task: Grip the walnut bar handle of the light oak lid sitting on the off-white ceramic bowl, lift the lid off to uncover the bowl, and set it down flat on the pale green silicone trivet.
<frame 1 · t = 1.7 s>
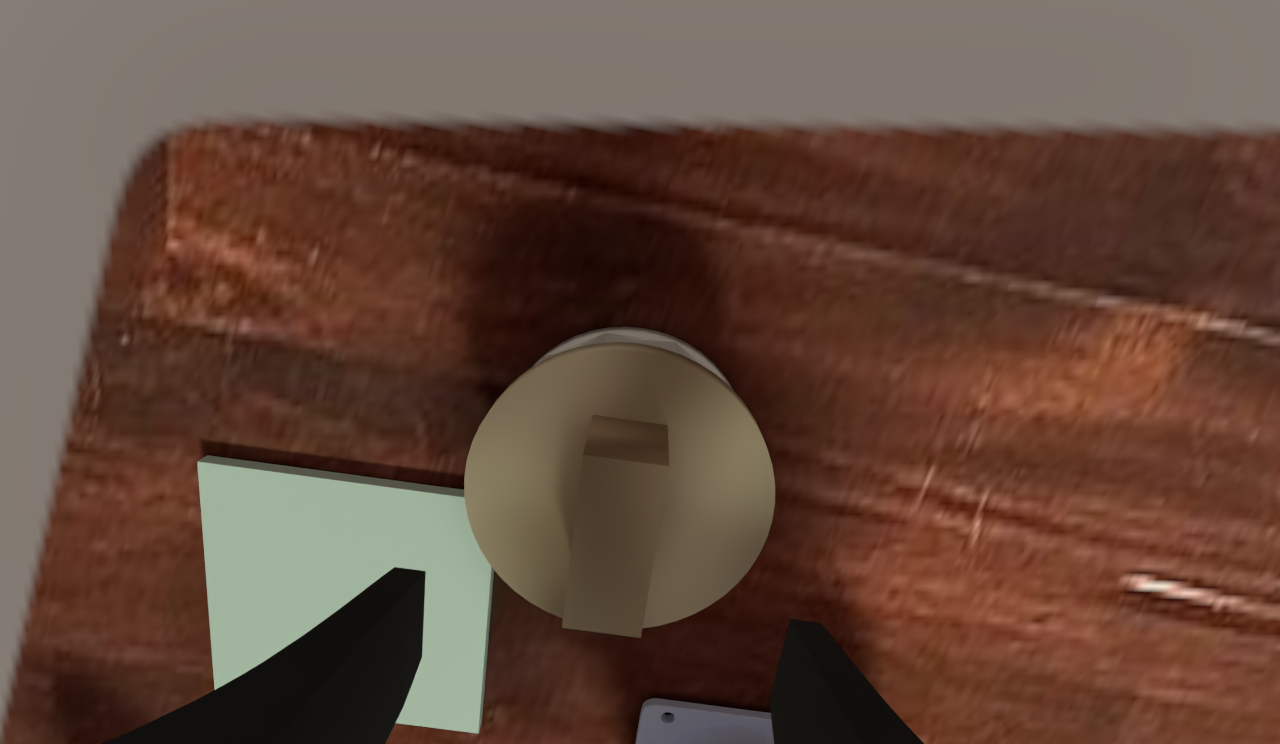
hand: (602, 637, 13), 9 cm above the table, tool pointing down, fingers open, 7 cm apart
lid: (620, 486, 19), point 3 cm above the table, touching bowl
bowl: (625, 443, 22), on the table
trivet: (353, 598, 24), on the table
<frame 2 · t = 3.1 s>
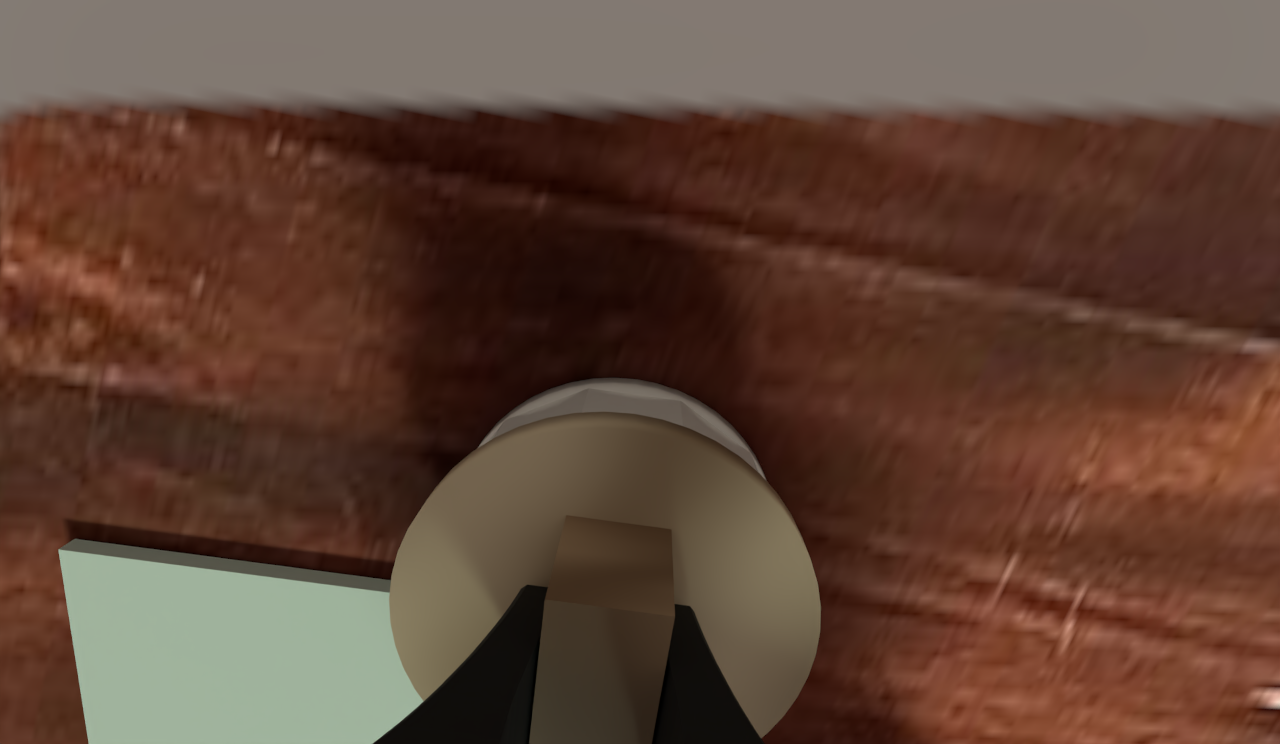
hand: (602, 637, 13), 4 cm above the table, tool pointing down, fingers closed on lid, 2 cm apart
lid: (606, 601, 14), point 3 cm above the table, touching bowl, gripper
bowl: (615, 526, 17), on the table
trivet: (272, 712, 19), on the table
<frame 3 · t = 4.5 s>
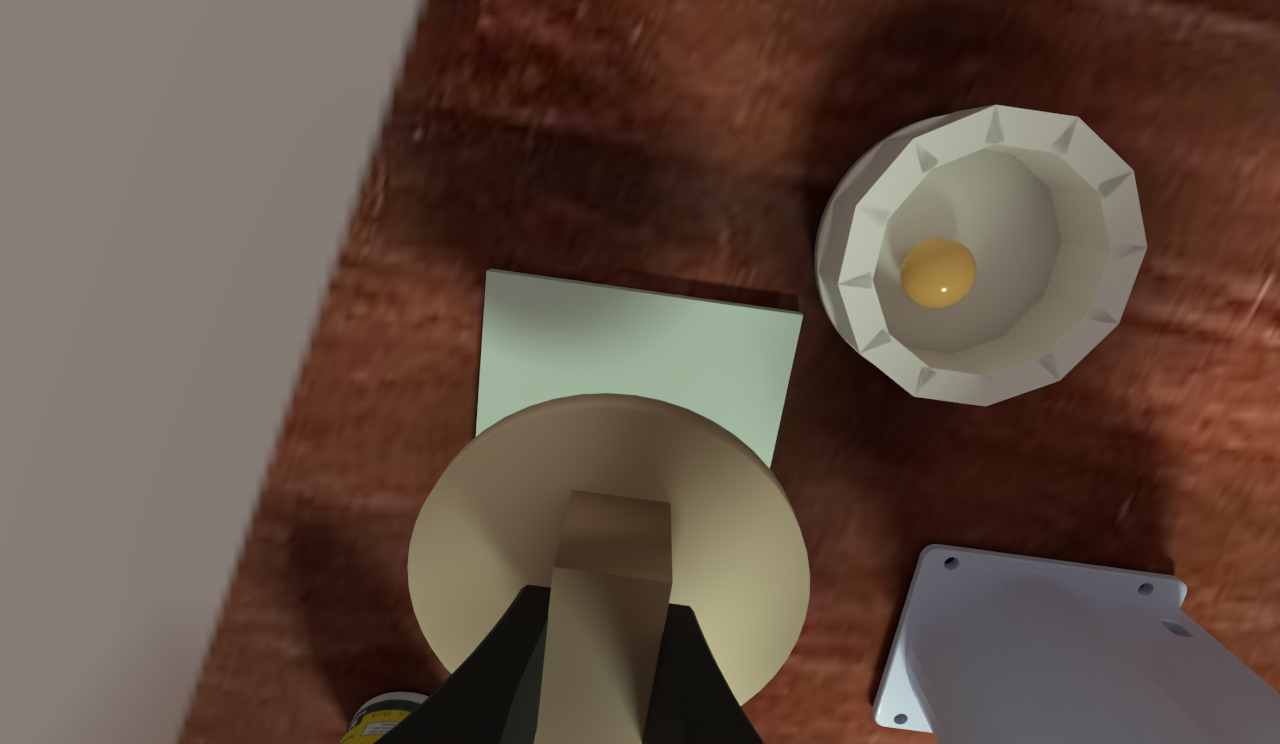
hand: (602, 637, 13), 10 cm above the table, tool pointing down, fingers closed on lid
lid: (610, 569, 15), point 8 cm above the table, touching gripper
bowl: (943, 251, 20), on the table
trivet: (625, 433, 22), on the table
supplement bottle: (412, 729, 27), on the table
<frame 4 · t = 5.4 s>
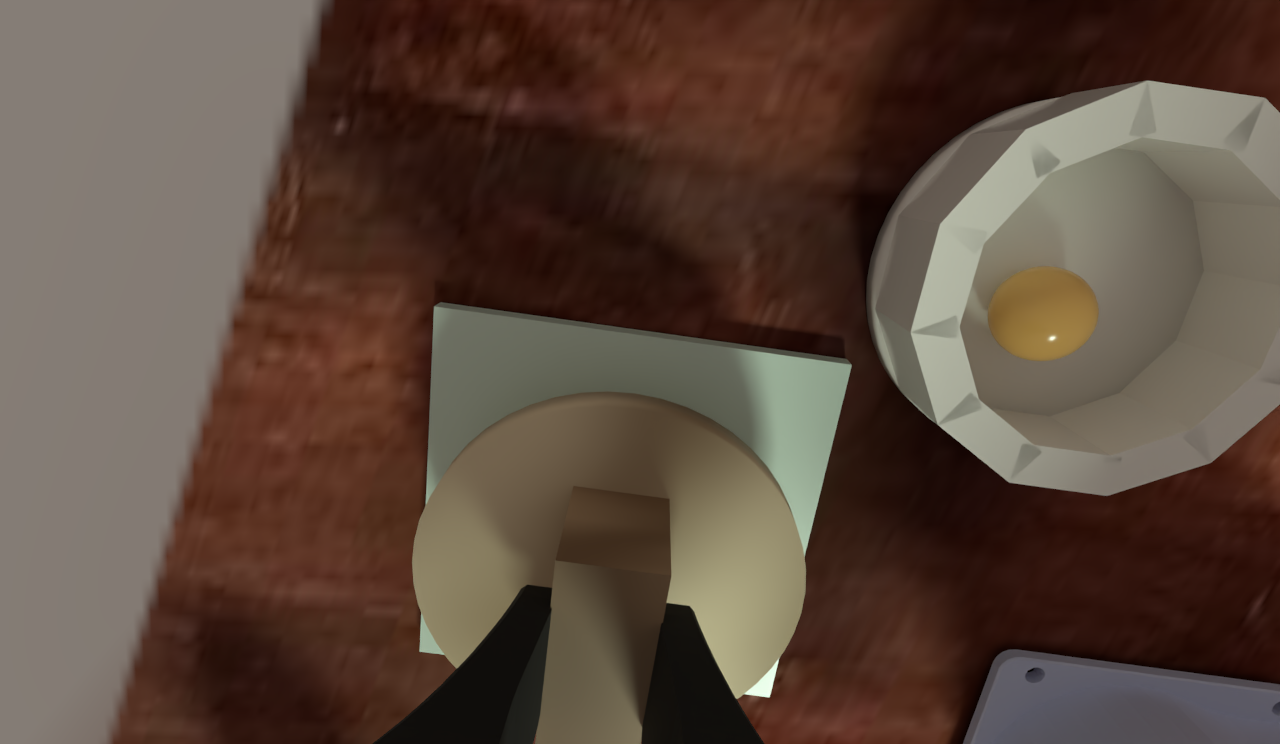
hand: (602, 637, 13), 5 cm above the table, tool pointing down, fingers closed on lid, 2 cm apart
lid: (610, 564, 15), point 3 cm above the table, touching gripper
bowl: (1038, 281, 15), on the table
trivet: (618, 510, 18), on the table
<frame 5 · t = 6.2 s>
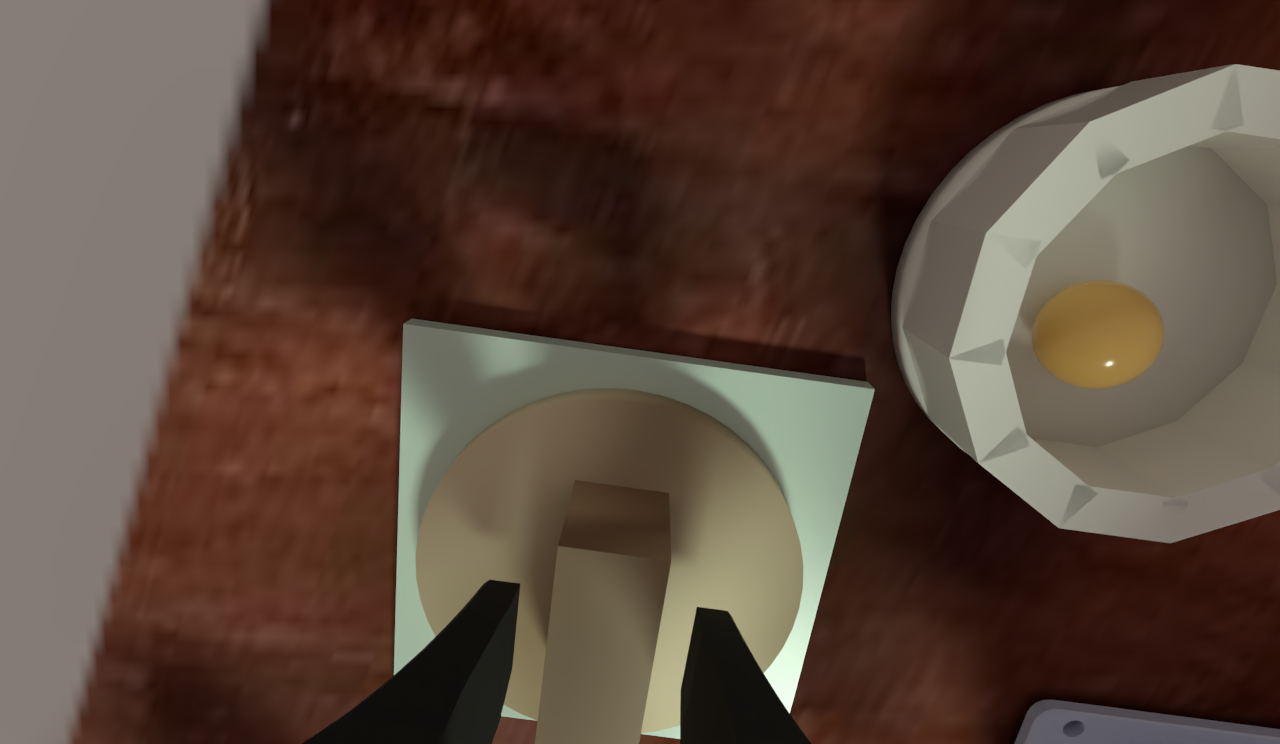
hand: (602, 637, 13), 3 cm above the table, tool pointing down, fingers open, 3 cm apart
lid: (610, 561, 15), resting on trivet
bowl: (1085, 295, 14), on the table
trivet: (612, 548, 16), on the table
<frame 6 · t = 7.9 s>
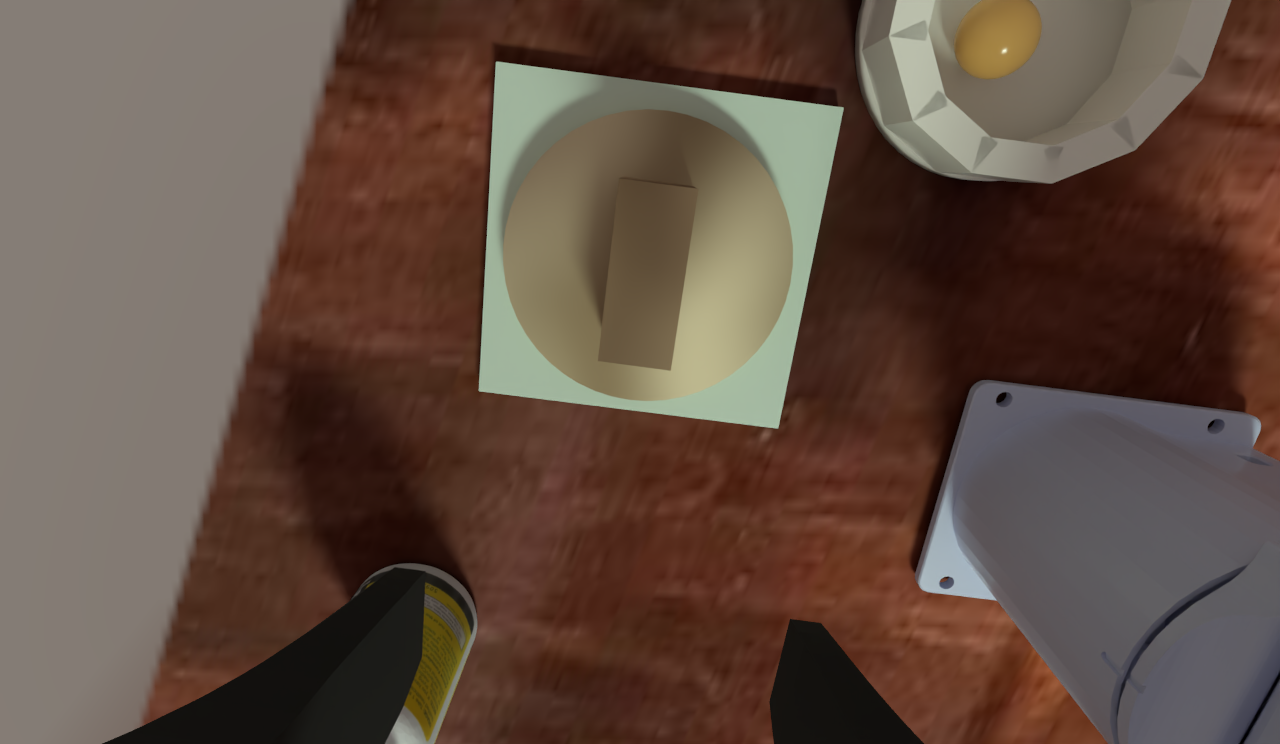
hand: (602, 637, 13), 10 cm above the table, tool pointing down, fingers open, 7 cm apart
lid: (647, 261, 20), resting on trivet
bowl: (998, 33, 19), on the table
trivet: (648, 257, 21), on the table
supplement bottle: (419, 609, 25), on the table
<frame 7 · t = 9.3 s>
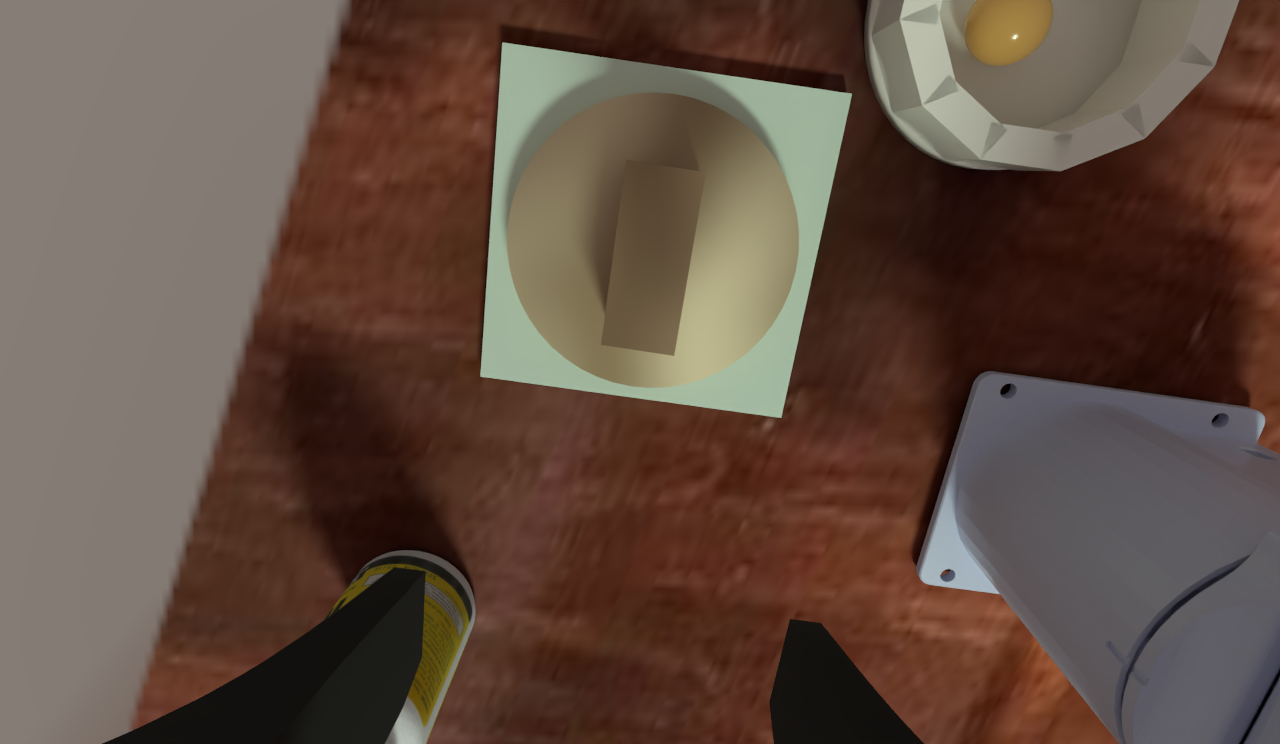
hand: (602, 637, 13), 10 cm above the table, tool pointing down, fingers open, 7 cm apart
lid: (652, 246, 20), resting on trivet
bowl: (1007, 20, 18), on the table
trivet: (653, 243, 21), on the table
supplement bottle: (417, 597, 25), on the table
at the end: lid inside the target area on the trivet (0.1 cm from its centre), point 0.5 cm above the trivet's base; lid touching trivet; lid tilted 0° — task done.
